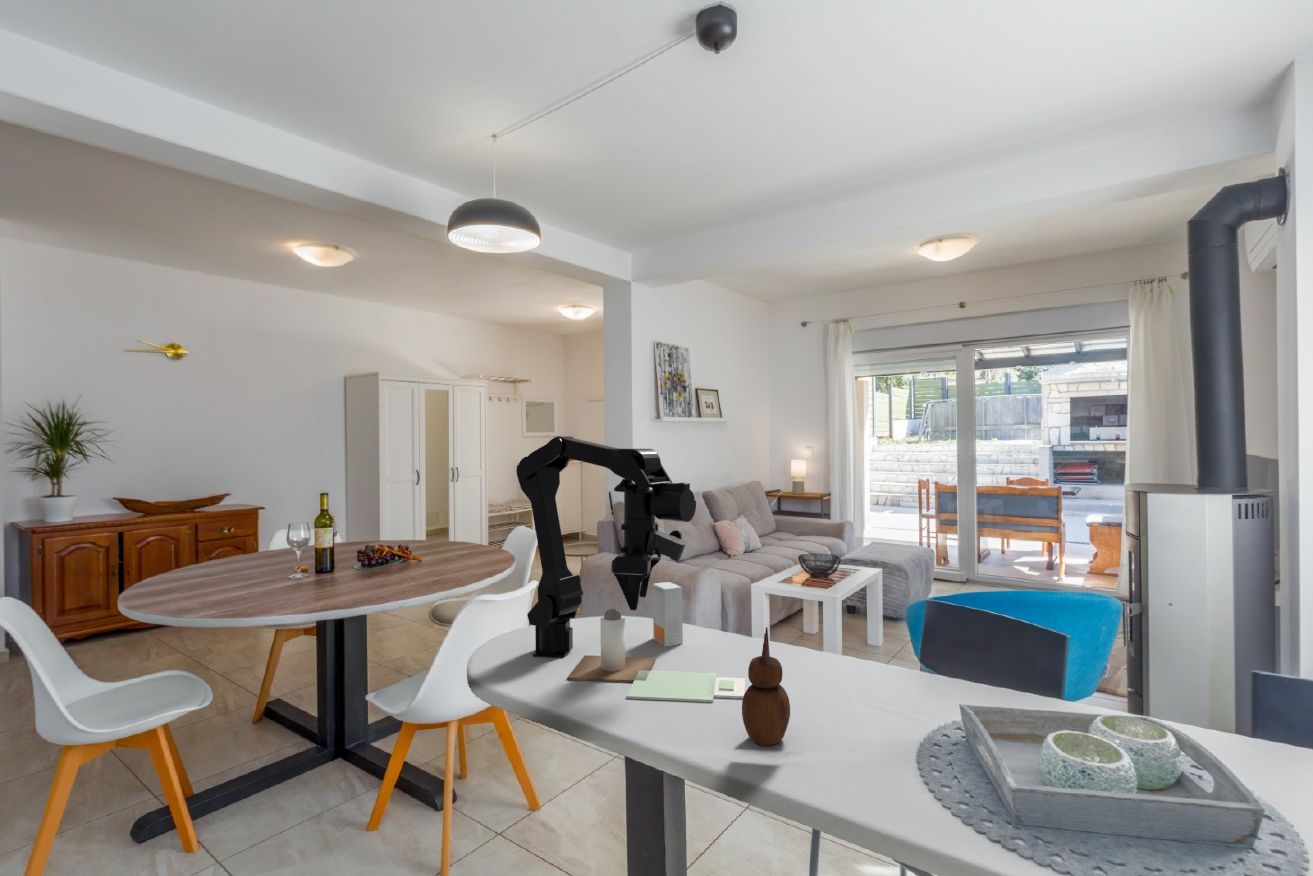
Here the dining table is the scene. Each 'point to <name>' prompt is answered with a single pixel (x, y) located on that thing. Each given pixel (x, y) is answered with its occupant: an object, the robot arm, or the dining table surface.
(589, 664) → the walnut mat
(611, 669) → the bottle
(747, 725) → the wooden figurine
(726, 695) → the card
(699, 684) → the green mat
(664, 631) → the skincare box
